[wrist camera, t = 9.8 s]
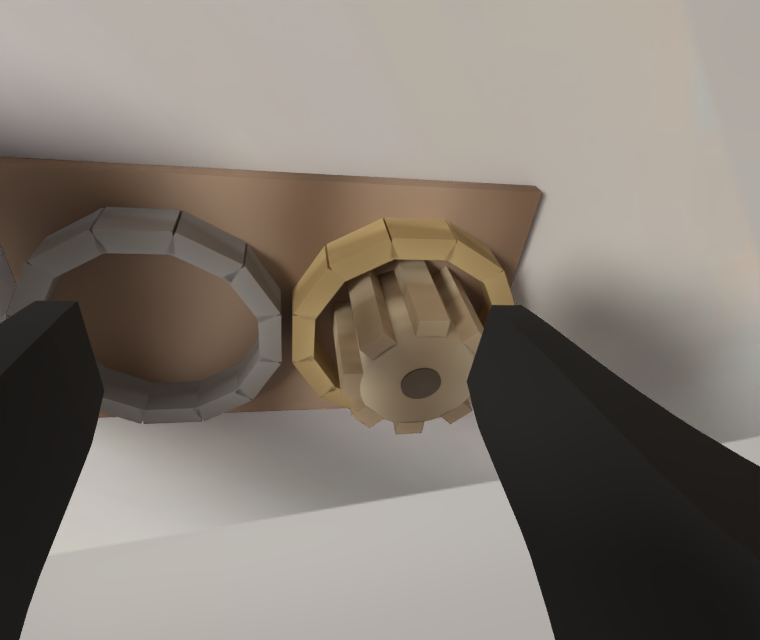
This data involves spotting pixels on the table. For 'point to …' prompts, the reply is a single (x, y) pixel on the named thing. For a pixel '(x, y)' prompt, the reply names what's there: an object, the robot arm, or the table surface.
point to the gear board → (254, 206)
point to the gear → (406, 346)
